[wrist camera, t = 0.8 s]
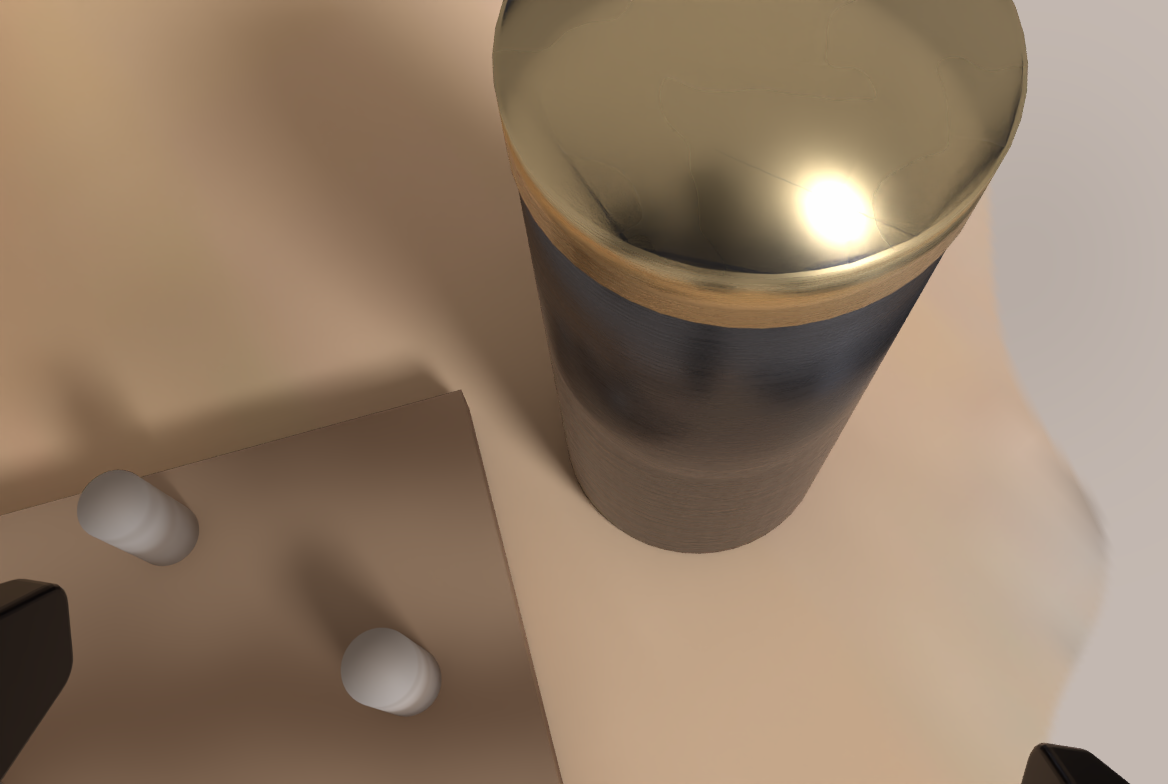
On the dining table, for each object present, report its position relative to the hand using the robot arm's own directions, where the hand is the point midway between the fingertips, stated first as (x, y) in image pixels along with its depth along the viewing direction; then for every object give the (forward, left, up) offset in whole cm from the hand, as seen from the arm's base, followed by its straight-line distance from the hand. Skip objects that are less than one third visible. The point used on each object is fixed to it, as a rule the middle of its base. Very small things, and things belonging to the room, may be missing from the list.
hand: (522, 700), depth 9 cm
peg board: (+2, +8, -13) cm, 15 cm away
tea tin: (+6, -4, -13) cm, 15 cm away
